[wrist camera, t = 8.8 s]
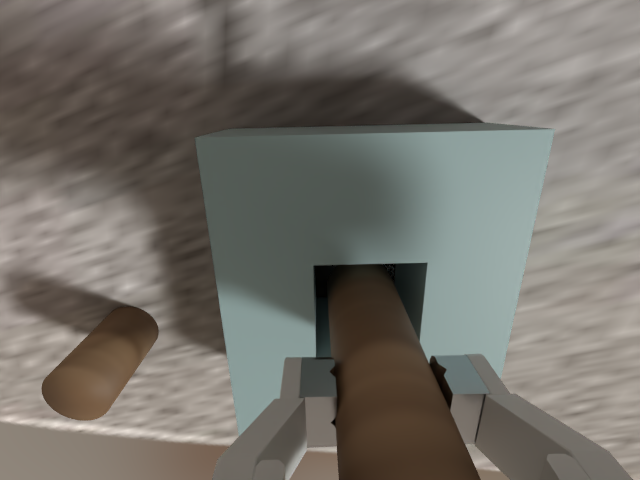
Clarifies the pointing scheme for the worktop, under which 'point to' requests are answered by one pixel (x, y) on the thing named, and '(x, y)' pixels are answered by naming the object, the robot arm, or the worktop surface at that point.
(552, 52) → the worktop surface
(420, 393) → the long dowel
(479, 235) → the hole block
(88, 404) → the short dowel
